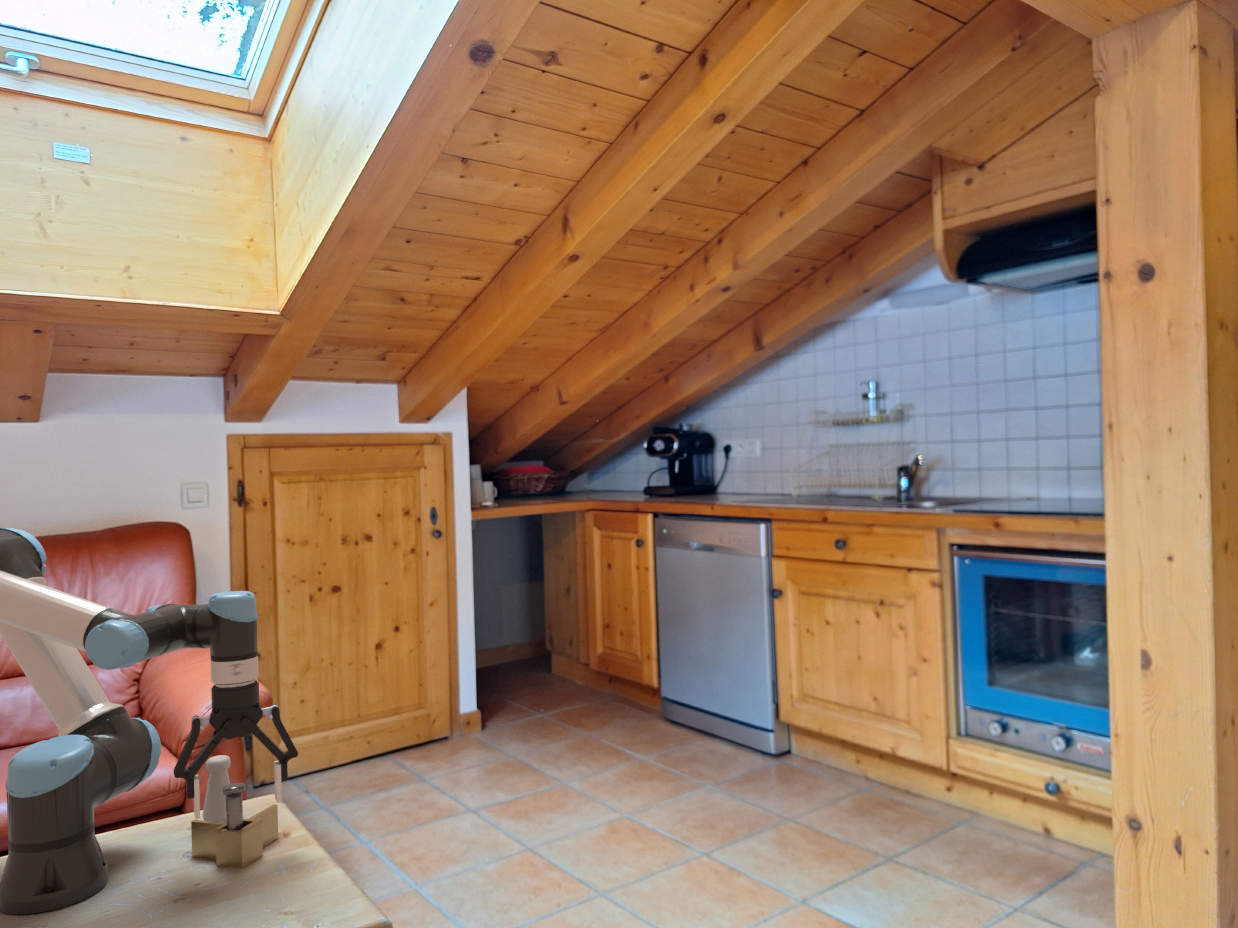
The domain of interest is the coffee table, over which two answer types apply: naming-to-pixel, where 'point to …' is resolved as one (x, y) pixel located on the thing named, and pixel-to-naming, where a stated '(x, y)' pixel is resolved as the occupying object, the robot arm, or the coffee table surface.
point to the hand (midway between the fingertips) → (238, 807)
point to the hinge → (235, 839)
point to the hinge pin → (234, 805)
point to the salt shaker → (216, 788)
